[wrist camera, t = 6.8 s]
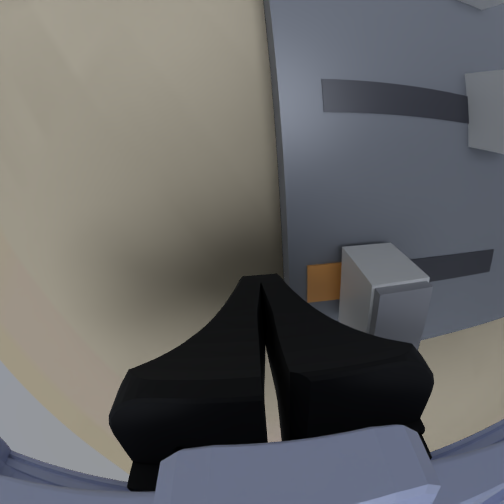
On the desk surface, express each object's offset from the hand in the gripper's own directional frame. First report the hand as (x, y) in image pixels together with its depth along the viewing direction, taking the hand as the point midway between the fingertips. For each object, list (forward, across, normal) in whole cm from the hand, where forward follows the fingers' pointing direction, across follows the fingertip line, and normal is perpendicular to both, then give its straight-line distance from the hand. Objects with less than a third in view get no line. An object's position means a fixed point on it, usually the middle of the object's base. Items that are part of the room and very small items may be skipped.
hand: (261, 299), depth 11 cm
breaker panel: (+3, -9, -7) cm, 12 cm away
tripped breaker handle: (0, -4, 0) cm, 4 cm away
